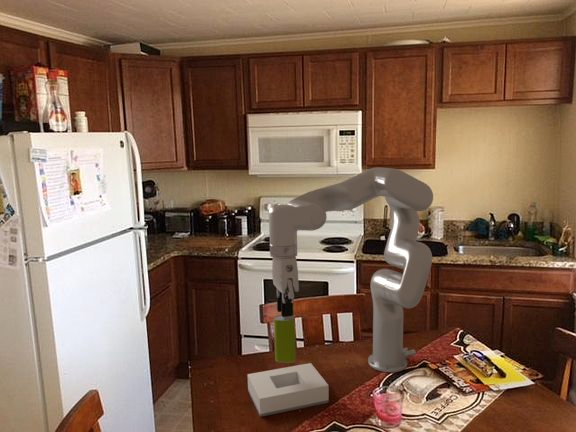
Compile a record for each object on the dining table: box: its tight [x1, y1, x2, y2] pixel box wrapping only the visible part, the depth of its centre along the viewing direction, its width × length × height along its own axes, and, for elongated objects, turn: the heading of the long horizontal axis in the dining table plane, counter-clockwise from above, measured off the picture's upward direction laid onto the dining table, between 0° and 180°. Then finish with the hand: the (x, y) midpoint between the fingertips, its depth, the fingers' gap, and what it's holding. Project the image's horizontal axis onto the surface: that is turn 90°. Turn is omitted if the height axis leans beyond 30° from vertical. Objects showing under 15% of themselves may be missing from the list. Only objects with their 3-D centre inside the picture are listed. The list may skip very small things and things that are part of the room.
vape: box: [273, 294, 297, 364], centre depth 136 cm, size 4×6×20 cm, turn 81°
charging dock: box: [247, 362, 330, 417], centre depth 139 cm, size 20×14×5 cm
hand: (285, 312), depth 135 cm, fingers closed on vape, 3 cm apart
